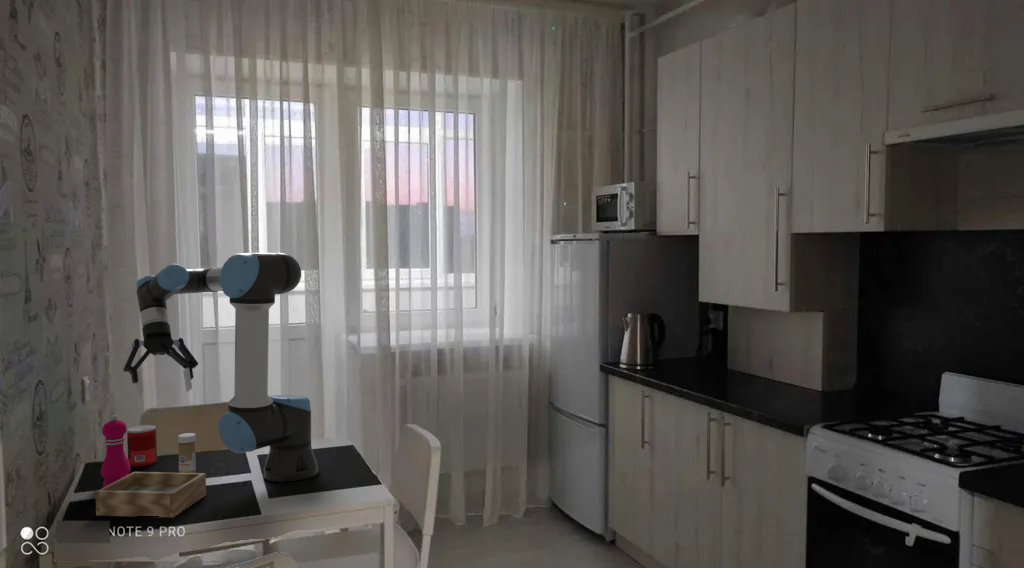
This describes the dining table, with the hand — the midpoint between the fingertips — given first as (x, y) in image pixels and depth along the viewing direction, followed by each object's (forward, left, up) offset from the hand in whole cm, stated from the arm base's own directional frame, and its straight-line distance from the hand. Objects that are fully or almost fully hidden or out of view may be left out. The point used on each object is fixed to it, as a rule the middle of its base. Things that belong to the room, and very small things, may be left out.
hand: (165, 391), depth 212 cm
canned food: (+14, -10, -25) cm, 30 cm away
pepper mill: (+9, +11, -25) cm, 28 cm away
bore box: (-10, +25, -24) cm, 36 cm away
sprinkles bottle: (-9, +6, -25) cm, 27 cm away
